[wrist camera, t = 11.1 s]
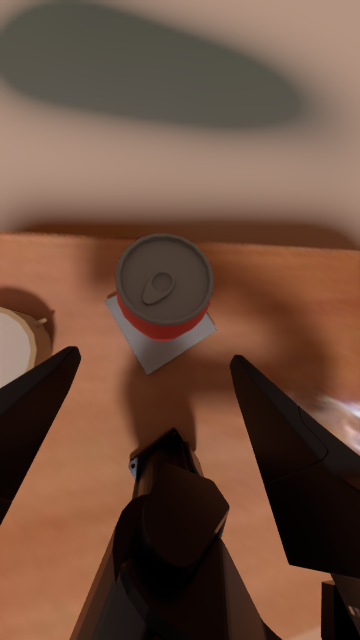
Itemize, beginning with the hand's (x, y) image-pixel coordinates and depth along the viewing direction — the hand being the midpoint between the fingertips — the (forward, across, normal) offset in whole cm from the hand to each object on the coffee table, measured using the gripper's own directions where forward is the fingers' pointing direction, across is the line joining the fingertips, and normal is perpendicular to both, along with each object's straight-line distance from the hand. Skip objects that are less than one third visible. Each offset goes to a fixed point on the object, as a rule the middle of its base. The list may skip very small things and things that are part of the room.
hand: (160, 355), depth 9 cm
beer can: (+11, 0, +5) cm, 12 cm away
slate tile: (+12, 0, +5) cm, 13 cm away
